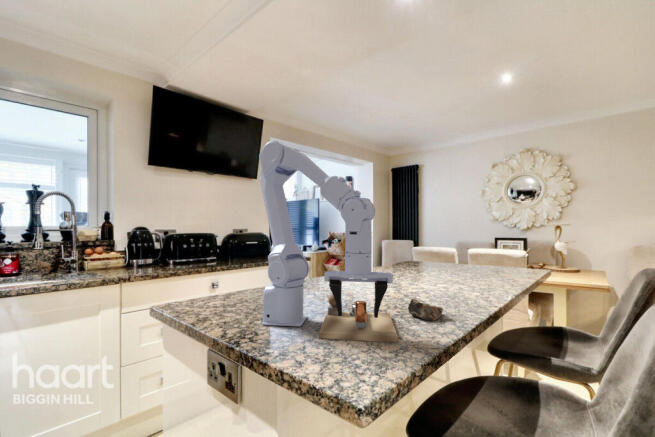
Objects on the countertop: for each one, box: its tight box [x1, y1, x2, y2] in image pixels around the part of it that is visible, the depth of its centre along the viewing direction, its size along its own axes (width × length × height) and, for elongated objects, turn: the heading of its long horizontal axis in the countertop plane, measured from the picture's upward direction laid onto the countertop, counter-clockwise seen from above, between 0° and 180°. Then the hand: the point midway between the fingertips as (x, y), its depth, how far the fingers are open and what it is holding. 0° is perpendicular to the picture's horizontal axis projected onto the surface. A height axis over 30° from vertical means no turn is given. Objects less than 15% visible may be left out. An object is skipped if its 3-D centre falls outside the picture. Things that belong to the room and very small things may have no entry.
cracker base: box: [318, 293, 399, 343], centre depth 68 cm, size 16×16×6 cm
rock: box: [407, 298, 444, 322], centre depth 77 cm, size 9×6×10 cm
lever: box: [351, 300, 367, 328], centre depth 70 cm, size 17×3×5 cm, turn 177°
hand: (357, 315), depth 63 cm, fingers open, 7 cm apart
